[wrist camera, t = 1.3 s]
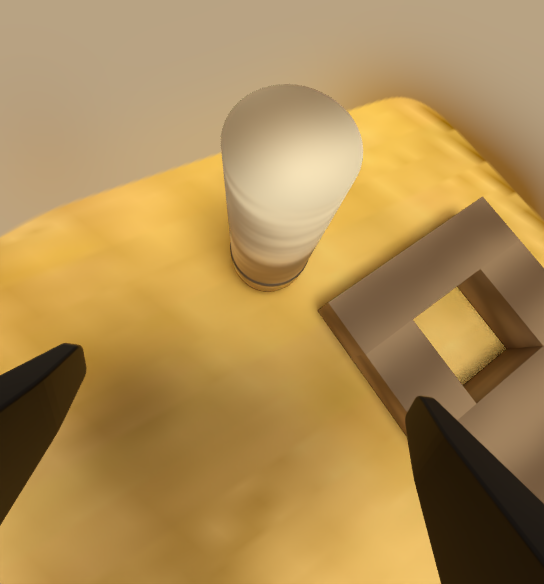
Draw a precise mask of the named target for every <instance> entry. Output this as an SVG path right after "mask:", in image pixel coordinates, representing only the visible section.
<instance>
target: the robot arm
mask: <svg viewBox="0 0 544 584" xmlns="http://www.w3.org/2000/svg"><path fill="white" fill-rule="evenodd" d="M85 374H86V363H85V357H84V352H83V348H82V347H81V346H80V345H77V344H70V343H63V344H61V345H59V346H57V347H55V348H53V349H51V350H49V351H47V352H45V353H43V354H41V355H39V356H37V357H35V358H33V359H31V360H29V361H27V362H25V363H24V364H22V365H20V366H18V367H16V368H14V369H12V370H10V371H8V372H6V373H4V374H2V375H0V525H1V523H2V522H3V520H4V519H5V517H6V515H7V514H8V512H9V510H10V509H11V507H12V506H13V504H14V502H15V501H16V499H17V497H18V496H19V494H20V493H21V491H22V489H23V488H24V486H25V485H26V483H27V481H28V480H29V478H30V476H31V475H32V473H33V472H34V470H35V468H36V467H37V465H38V463H39V462H40V460H41V459H42V457H43V455H44V454H45V452H46V450H47V449H48V447H49V446H50V444H51V442H52V441H53V439H54V437H55V436H56V434H57V432H58V430H59V429H60V427H61V425H62V423H63V421H64V419H65V417H66V414H67V412H68V410H69V408H70V406H71V404H72V402H73V400H74V398H75V396H76V394H77V392H78V390H79V387H80V385H81V383H82V381H83V379H84V377H85ZM405 426H406V432H407V439H408V445H409V452H410V458H411V465H412V471H413V476H414V481H415V485H416V489H417V493H418V497H419V501H420V505H421V508H422V512H423V516H424V520H425V524H426V528H427V531H428V535H429V539H430V543H431V547H432V551H433V554H434V558H435V562H436V566H437V570H438V574H439V577H440V581H441V584H544V503H543V502H542V501H541V500H540V499H539V498H538V497H537V496H535V495H534V494H533V493H532V492H531V491H530V490H529V489H528V488H527V487H526V486H525V485H524V484H523V483H522V482H521V481H520V480H519V479H518V478H517V477H516V476H515V475H514V474H513V473H512V472H511V471H510V470H508V469H507V468H506V467H505V466H504V465H503V464H502V463H501V462H500V461H499V460H498V459H497V458H496V457H495V456H494V455H493V454H492V453H491V452H490V451H489V450H488V449H487V448H486V447H485V446H484V445H483V444H481V443H480V442H479V441H478V440H477V439H476V438H475V437H474V436H473V435H472V434H471V433H470V432H469V431H468V430H467V429H466V428H465V427H464V426H463V425H462V424H461V423H460V422H459V421H458V420H457V419H456V418H454V417H453V416H452V415H451V414H450V413H449V412H448V411H447V410H446V409H445V408H444V407H443V406H442V405H441V404H440V403H439V402H438V401H437V400H436V399H434V398H432V397H428V396H421V395H420V396H417V397H416V398H415V399H414V401H413V403H412V405H411V406H410V408H409V410H408V411H407V413H406V416H405Z"/></svg>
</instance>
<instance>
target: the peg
mask: <svg viewBox="0 0 544 584" xmlns="http://www.w3.org/2000/svg"><path fill="white" fill-rule="evenodd" d="M221 150H222V161H223V171H224V181H225V191H226V201H227V211H228V221H229V231H230V241H231V242H230V250H231V257H232V260H233V265H234V268H235V270H236V272H237V273H238V275H239V276H240V278H241V279H242V280H243V281H244V282H246V283H247V284H248V285H249V286H251V287H252V288H254V289H257V290H260V291H275V290H278V289H282V288H284V287H286V286H288V285H290V284H291V283H292V282H293V281H294V280H296V278H297V277H298V276H299V275H300V273H301V272H302V271H303V269H304V268H305V266H306V264H307V262H308V259H309V257H310V256H311V254H312V252H313V251H314V249H315V247H316V245H317V244H318V242H319V240H320V239H321V237H322V235H323V234H324V232H325V230H326V228H327V227H328V225H329V223H330V222H331V220H332V218H333V217H334V215H335V213H336V211H337V210H338V208H339V206H340V205H341V203H342V201H343V200H344V198H345V196H346V194H347V193H348V191H349V189H350V188H351V186H352V184H353V183H354V181H355V179H356V177H357V175H358V173H359V171H360V168H361V164H362V160H363V144H362V139H361V135H360V132H359V130H358V127H357V125H356V123H355V122H354V120H353V118H352V117H351V116H350V114H349V113H348V112H347V111H346V110H345V109H344V108H343V107H342V106H341V105H340V104H339V103H338V102H337V101H335V100H334V99H332V98H331V97H329V96H328V95H326V94H324V93H322V92H320V91H317V90H315V89H312V88H309V87H305V86H299V85H289V84H284V85H273V86H268V87H265V88H262V89H259V90H256V91H254V92H252V93H250V94H249V95H247V96H246V97H244V98H243V99H242V100H240V101H239V102H238V103H237V104H236V105H235V106H234V108H233V109H232V110H231V111H230V113H229V114H228V116H227V118H226V120H225V123H224V126H223V129H222V134H221Z"/></svg>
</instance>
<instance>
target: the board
mask: <svg viewBox="0 0 544 584" xmlns="http://www.w3.org/2000/svg"><path fill="white" fill-rule="evenodd" d="M457 286H458V288H459V289H460V290H461V291H462V293H463V294H464V295H465V297H466V298H467V299H468V300H469V302H470V303H471V304H472V305H473V307H474V308H475V309H476V310H477V312H478V313H479V314H480V315H481V317H482V318H483V319H484V320H485V322H486V323H487V324H488V325H489V327H490V328H491V329H492V330H493V332H494V333H495V334H496V335H497V337H498V338H499V339H500V341H501V342H502V343H503V344H504V346H505V347H506V348H507V349H506V350H505V351H504V352H503V353H502V354H500V355H499V356H498V357H497V358H496V359H494V360H493V361H492V362H491V363H490V364H488V365H487V366H486V367H485V368H484V369H482V370H481V371H480V372H479V373H478V374H476V375H475V376H474V377H473V378H472V379H470V380H469V381H468V382H467V383H466V384H465V385H462V384H461V383H460V381H459V380H458V379H457V377H456V376H455V375H454V373H453V372H452V371H451V370H450V368H449V367H448V366H447V364H446V363H445V362H444V360H443V359H442V358H441V356H440V355H439V354H438V352H437V351H436V350H435V348H434V347H433V346H432V344H431V343H430V342H429V340H428V339H427V338H426V337H425V335H424V334H423V333H422V331H421V330H420V329H419V327H418V326H417V325H416V323H415V322H414V321H413V319H414V318H415V317H417V316H418V315H419V314H421V313H422V312H423V311H425V310H426V309H427V308H429V307H430V306H431V305H433V304H434V303H435V302H437V301H438V300H439V299H441V298H442V297H443V296H445V295H446V294H447V293H449V292H450V291H451V290H453V289H454V288H455V287H457ZM318 312H319V313H320V315H321V316H322V318H323V319H324V320H325V322H326V323H327V325H328V326H329V327H330V329H331V330H332V332H333V333H334V335H335V336H336V337H337V339H338V340H339V342H340V343H341V344H342V346H343V347H344V349H345V350H346V351H347V353H348V354H349V356H350V357H351V358H352V360H353V361H354V363H355V364H356V365H357V367H358V368H359V370H360V371H361V373H362V374H363V375H364V377H365V378H366V380H367V381H368V382H369V384H370V385H371V387H372V388H373V389H374V391H375V392H376V394H377V395H378V396H379V398H380V399H381V401H382V402H383V404H384V405H385V406H386V408H387V409H388V411H389V412H390V413H391V415H392V416H393V418H394V419H395V420H396V422H397V423H398V425H399V426H400V427H401V429H402V430H403V432H404V433H405V434H406V436H407V432H406V426H405V416H406V413H407V411H408V410H409V408H410V406H411V405H412V403H413V401H414V399H415V398H416V397H417V396H420V395H421V396H428V397H432V398H434V399H436V400H437V401H438V402H439V403H440V404H441V405H442V406H443V407H444V408H445V409H446V410H447V411H448V412H449V413H450V414H451V415H452V416H453V417H454V418H456V419H457V420H458V421H459V422H460V423H461V424H462V425H463V426H464V427H465V428H466V429H467V430H468V431H469V432H470V433H471V434H472V435H473V436H474V437H475V438H476V439H477V440H478V441H479V442H480V443H481V444H483V445H484V446H485V447H486V448H487V449H488V450H489V451H490V452H491V453H492V454H493V455H494V456H495V457H496V458H497V459H498V460H499V461H500V462H501V463H502V464H503V465H504V466H505V467H506V468H507V469H508V470H510V471H511V472H512V473H513V474H514V475H515V476H516V477H517V478H518V479H519V480H520V481H521V482H522V483H523V484H524V485H525V486H526V487H527V488H528V489H529V490H530V491H531V492H532V493H533V494H534V495H535V496H537V497H538V498H539V499H540V500H541V501H542V502H543V503H544V268H543V267H542V266H541V264H540V263H539V262H538V261H537V260H536V259H535V257H534V256H533V255H532V254H531V253H530V252H529V250H528V249H527V248H526V247H525V246H524V245H523V243H522V242H521V241H520V240H519V239H518V237H517V236H516V235H515V234H514V233H513V232H512V230H511V229H510V228H509V227H508V226H507V225H506V223H505V222H504V221H503V220H502V219H501V217H500V216H499V215H498V214H497V213H496V212H495V210H494V209H493V208H492V207H491V206H490V205H489V203H488V202H487V201H486V200H485V199H484V197H481V198H480V199H478V200H477V201H475V202H474V203H472V204H471V205H470V206H468V207H467V208H465V209H464V210H462V211H461V212H459V213H458V214H456V215H455V216H454V217H452V218H451V219H449V220H448V221H446V222H445V223H443V224H442V225H440V226H439V227H437V228H436V229H435V230H433V231H432V232H430V233H429V234H427V235H426V236H424V237H423V238H421V239H420V240H419V241H417V242H416V243H414V244H413V245H411V246H410V247H408V248H407V249H405V250H404V251H402V252H401V253H400V254H398V255H397V256H395V257H394V258H392V259H391V260H389V261H388V262H386V263H385V264H384V265H382V266H381V267H379V268H378V269H376V270H375V271H373V272H372V273H370V274H369V275H368V276H366V277H365V278H363V279H362V280H360V281H359V282H357V283H356V284H354V285H353V286H351V287H350V288H349V289H347V290H346V291H344V292H343V293H341V294H340V295H338V296H337V297H335V298H334V299H333V300H331V301H330V302H328V303H327V304H326V305H324V306H323V307H322V308H321V309H319V310H318Z"/></svg>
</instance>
